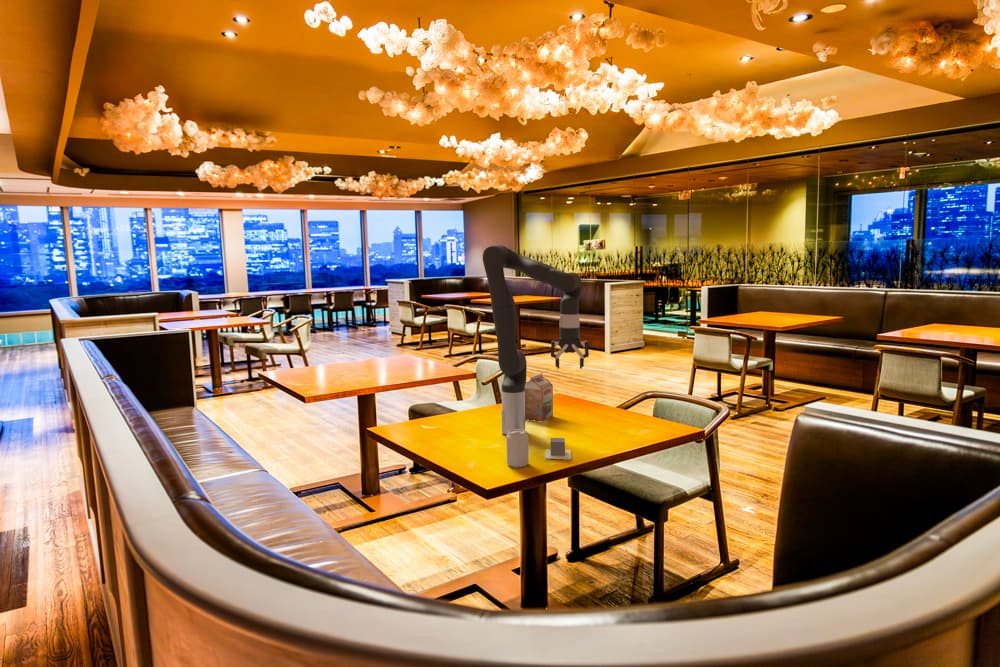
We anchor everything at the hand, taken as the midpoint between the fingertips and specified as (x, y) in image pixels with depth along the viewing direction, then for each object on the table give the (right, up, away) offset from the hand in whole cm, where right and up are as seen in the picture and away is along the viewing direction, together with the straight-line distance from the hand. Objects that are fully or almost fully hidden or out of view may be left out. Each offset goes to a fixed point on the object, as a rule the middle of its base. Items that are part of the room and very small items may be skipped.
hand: (569, 368), depth 245 cm
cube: (-6, -30, -15) cm, 34 cm away
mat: (-6, -30, -15) cm, 34 cm away
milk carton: (-10, -24, +37) cm, 45 cm away
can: (-20, -32, -24) cm, 45 cm away
